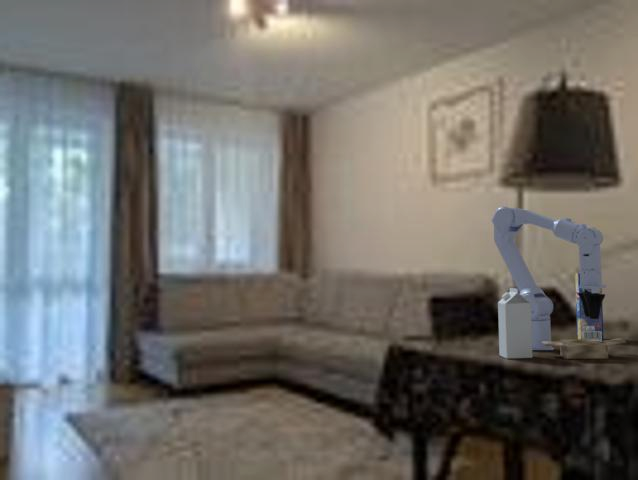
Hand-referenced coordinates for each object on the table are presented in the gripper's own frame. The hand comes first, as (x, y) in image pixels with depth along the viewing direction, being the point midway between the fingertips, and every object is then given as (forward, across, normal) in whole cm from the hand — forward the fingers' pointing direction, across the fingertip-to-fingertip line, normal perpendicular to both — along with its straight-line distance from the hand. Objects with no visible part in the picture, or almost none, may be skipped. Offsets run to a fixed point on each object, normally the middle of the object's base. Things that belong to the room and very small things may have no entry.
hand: (591, 317), depth 201 cm
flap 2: (+6, -9, -4) cm, 11 cm away
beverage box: (+10, +33, -5) cm, 35 cm away
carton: (+10, -7, +6) cm, 14 cm away
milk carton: (+10, -10, +22) cm, 26 cm away
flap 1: (+6, -15, +4) cm, 17 cm away
